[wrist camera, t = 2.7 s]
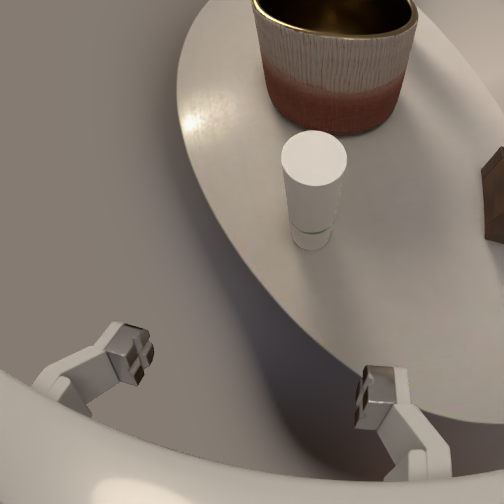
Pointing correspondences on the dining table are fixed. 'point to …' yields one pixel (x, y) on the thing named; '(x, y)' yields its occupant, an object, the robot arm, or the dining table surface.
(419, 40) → the dining table surface
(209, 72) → the dining table surface
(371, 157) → the dining table surface
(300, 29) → the planter
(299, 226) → the tube
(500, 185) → the socket block
